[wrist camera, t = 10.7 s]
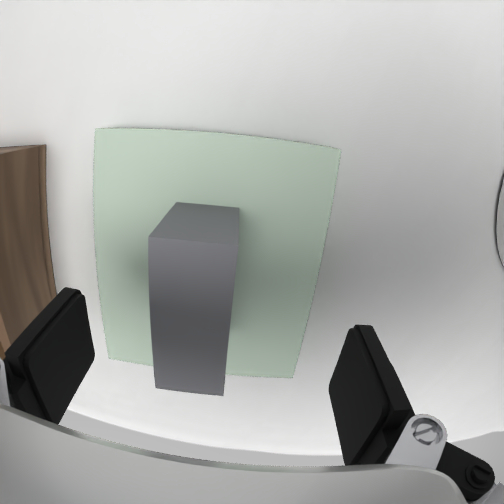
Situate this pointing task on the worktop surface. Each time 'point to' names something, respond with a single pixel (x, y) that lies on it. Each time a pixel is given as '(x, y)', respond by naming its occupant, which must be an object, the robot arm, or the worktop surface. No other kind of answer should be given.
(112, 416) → the worktop surface
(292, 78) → the worktop surface
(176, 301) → the lid
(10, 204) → the wooden box
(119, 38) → the worktop surface
